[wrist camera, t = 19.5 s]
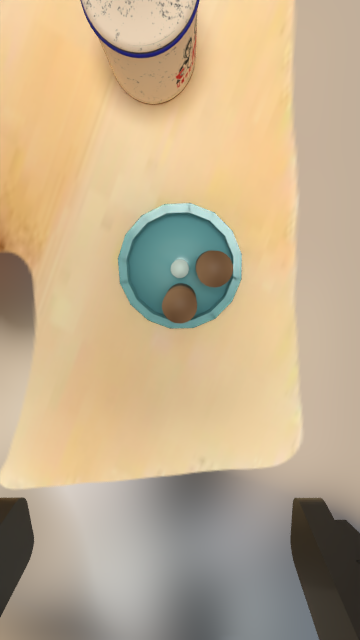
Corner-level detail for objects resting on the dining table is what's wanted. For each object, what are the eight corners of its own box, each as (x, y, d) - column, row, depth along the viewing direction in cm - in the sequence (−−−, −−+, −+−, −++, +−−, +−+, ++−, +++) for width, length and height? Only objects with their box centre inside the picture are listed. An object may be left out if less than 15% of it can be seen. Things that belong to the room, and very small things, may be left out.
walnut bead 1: (159, 299, 35) (154, 307, 30) (180, 276, 34) (178, 281, 29) (181, 319, 35) (180, 330, 30) (202, 297, 35) (204, 305, 30)
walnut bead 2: (196, 282, 34) (197, 288, 29) (194, 251, 33) (195, 251, 28) (226, 281, 34) (233, 286, 29) (226, 249, 33) (232, 249, 28)
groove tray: (100, 270, 35) (93, 271, 33) (177, 179, 32) (176, 174, 30) (183, 344, 37) (182, 351, 35) (262, 264, 34) (267, 266, 32)
